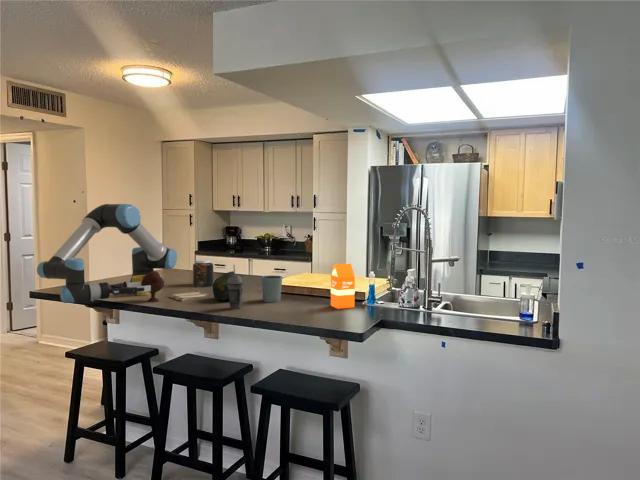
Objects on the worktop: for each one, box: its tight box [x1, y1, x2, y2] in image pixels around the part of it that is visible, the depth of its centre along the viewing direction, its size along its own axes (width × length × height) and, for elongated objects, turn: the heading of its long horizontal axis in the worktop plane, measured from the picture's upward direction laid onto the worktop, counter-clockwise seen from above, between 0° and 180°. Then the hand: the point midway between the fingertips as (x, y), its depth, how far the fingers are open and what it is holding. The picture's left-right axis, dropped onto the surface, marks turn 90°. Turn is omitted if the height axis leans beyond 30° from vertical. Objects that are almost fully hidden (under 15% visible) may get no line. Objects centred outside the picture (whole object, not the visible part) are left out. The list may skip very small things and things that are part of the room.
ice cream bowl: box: [141, 270, 165, 303], centre depth 238 cm, size 11×11×15 cm
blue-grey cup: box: [261, 274, 283, 303], centre depth 240 cm, size 10×10×12 cm
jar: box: [192, 258, 215, 288], centre depth 284 cm, size 12×12×15 cm
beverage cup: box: [227, 264, 244, 310], centre depth 222 cm, size 7×7×20 cm
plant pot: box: [132, 275, 151, 297], centre depth 255 cm, size 10×10×10 cm
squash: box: [212, 270, 243, 302], centre depth 242 cm, size 14×15×15 cm
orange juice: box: [330, 262, 356, 310], centre depth 226 cm, size 8×9×20 cm
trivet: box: [169, 290, 211, 302], centre depth 248 cm, size 15×15×2 cm
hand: (145, 286), depth 235 cm, fingers open, 13 cm apart
